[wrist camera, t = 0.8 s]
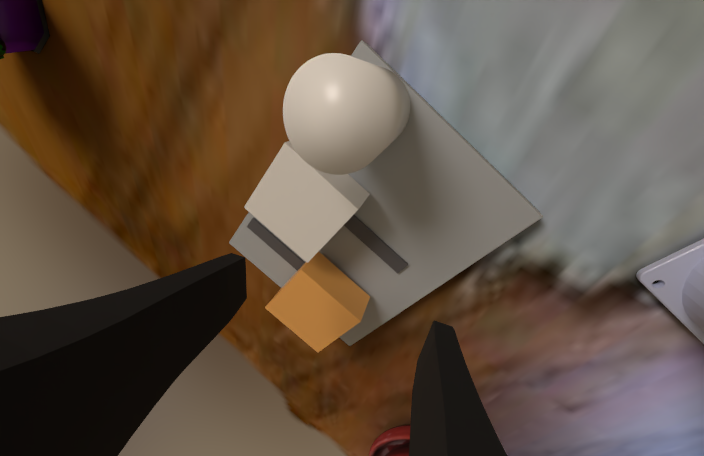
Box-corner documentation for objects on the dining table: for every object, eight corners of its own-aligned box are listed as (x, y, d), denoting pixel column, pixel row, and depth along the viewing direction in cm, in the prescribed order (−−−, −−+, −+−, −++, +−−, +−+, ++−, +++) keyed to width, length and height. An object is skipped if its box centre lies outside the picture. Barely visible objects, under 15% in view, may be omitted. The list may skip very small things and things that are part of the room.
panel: (537, 209, 16) (544, 218, 15) (353, 337, 24) (348, 348, 23) (366, 43, 15) (360, 39, 14) (237, 237, 23) (227, 243, 22)
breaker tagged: (370, 296, 20) (360, 321, 18) (330, 327, 23) (317, 352, 20) (317, 250, 20) (301, 269, 17) (282, 286, 22) (264, 307, 20)
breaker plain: (369, 194, 17) (358, 209, 15) (323, 243, 19) (307, 263, 17) (306, 135, 16) (284, 142, 14) (267, 194, 19) (244, 207, 17)
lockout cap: (427, 104, 14) (415, 112, 9) (375, 162, 16) (342, 195, 11) (368, 47, 14) (322, 23, 9) (324, 113, 16) (264, 125, 11)
